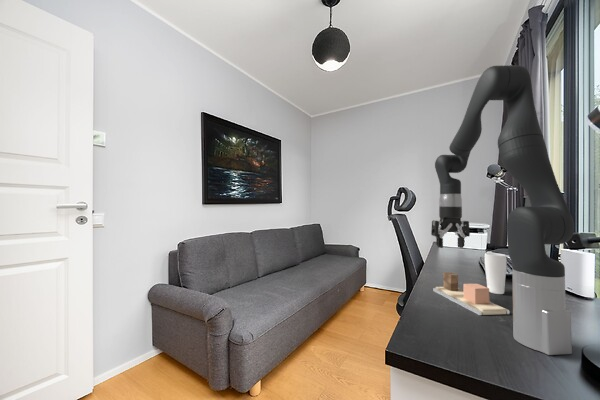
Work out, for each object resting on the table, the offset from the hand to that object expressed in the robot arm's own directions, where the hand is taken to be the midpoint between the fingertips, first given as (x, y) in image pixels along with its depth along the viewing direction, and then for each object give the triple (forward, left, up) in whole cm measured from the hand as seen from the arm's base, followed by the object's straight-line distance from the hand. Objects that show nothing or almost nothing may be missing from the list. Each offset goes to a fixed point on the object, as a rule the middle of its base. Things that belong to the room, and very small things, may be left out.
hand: (450, 247), depth 95 cm
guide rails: (-8, 0, -18) cm, 19 cm away
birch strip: (-8, 0, -18) cm, 19 cm away
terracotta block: (-12, 0, -16) cm, 20 cm away
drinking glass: (0, -19, -18) cm, 26 cm away
